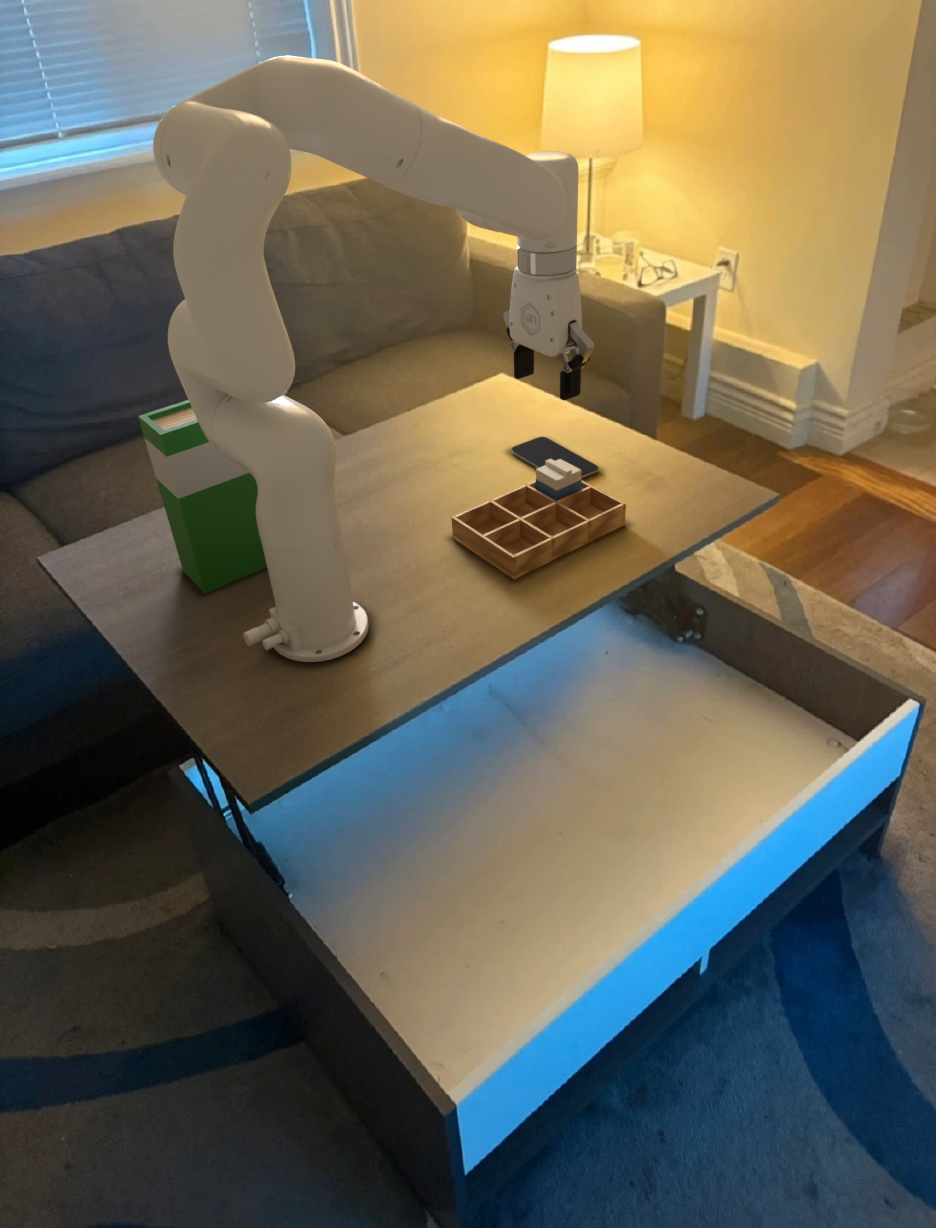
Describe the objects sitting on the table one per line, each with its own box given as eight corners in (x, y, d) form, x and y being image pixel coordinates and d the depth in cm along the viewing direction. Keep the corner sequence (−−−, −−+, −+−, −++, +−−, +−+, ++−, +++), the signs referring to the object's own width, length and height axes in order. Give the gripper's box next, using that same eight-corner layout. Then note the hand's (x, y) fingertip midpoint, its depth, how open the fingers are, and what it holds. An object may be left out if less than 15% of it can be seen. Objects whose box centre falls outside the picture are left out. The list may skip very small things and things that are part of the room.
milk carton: (556, 513, 141) (556, 476, 137) (535, 501, 144) (535, 464, 140) (581, 502, 143) (582, 465, 139) (560, 490, 146) (560, 454, 142)
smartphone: (543, 435, 161) (601, 467, 151) (543, 438, 162) (601, 471, 151) (508, 448, 158) (565, 481, 148) (508, 452, 159) (565, 485, 148)
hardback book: (291, 526, 144) (261, 376, 129) (316, 546, 139) (287, 392, 124) (183, 570, 136) (138, 415, 121) (204, 593, 131) (160, 434, 116)
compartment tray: (514, 579, 129) (513, 557, 127) (452, 538, 138) (451, 517, 136) (625, 524, 139) (626, 503, 136) (560, 489, 148) (560, 468, 146)
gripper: (482, 251, 125) (486, 375, 135) (570, 281, 114) (567, 414, 124) (526, 240, 129) (527, 361, 139) (616, 267, 117) (609, 397, 127)
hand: (546, 386), depth 131 cm, fingers open, 9 cm apart
